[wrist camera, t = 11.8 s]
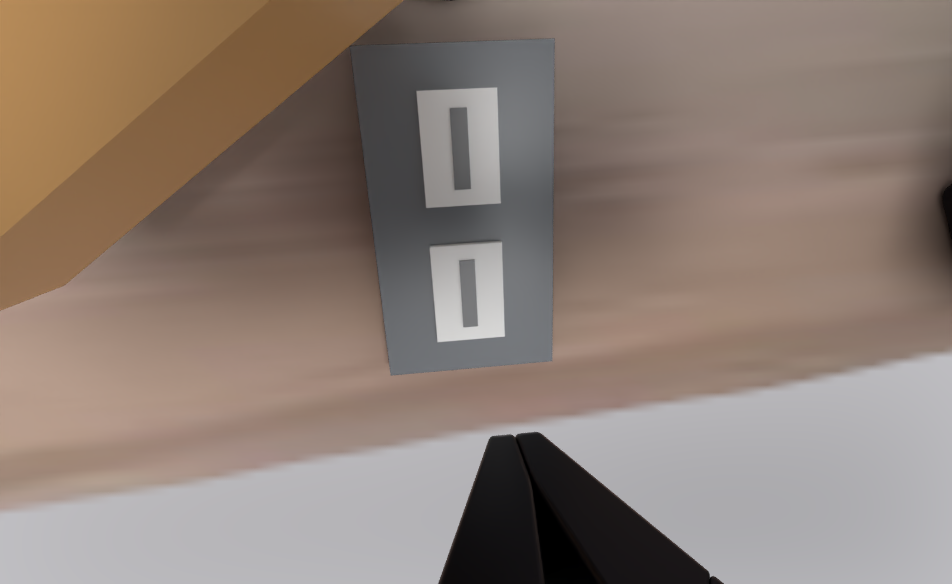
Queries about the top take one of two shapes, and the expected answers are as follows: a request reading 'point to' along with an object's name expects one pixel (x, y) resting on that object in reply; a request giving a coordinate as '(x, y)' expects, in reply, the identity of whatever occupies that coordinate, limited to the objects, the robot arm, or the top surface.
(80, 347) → the top surface
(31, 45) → the swing bar
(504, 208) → the label plate
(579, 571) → the robot arm
